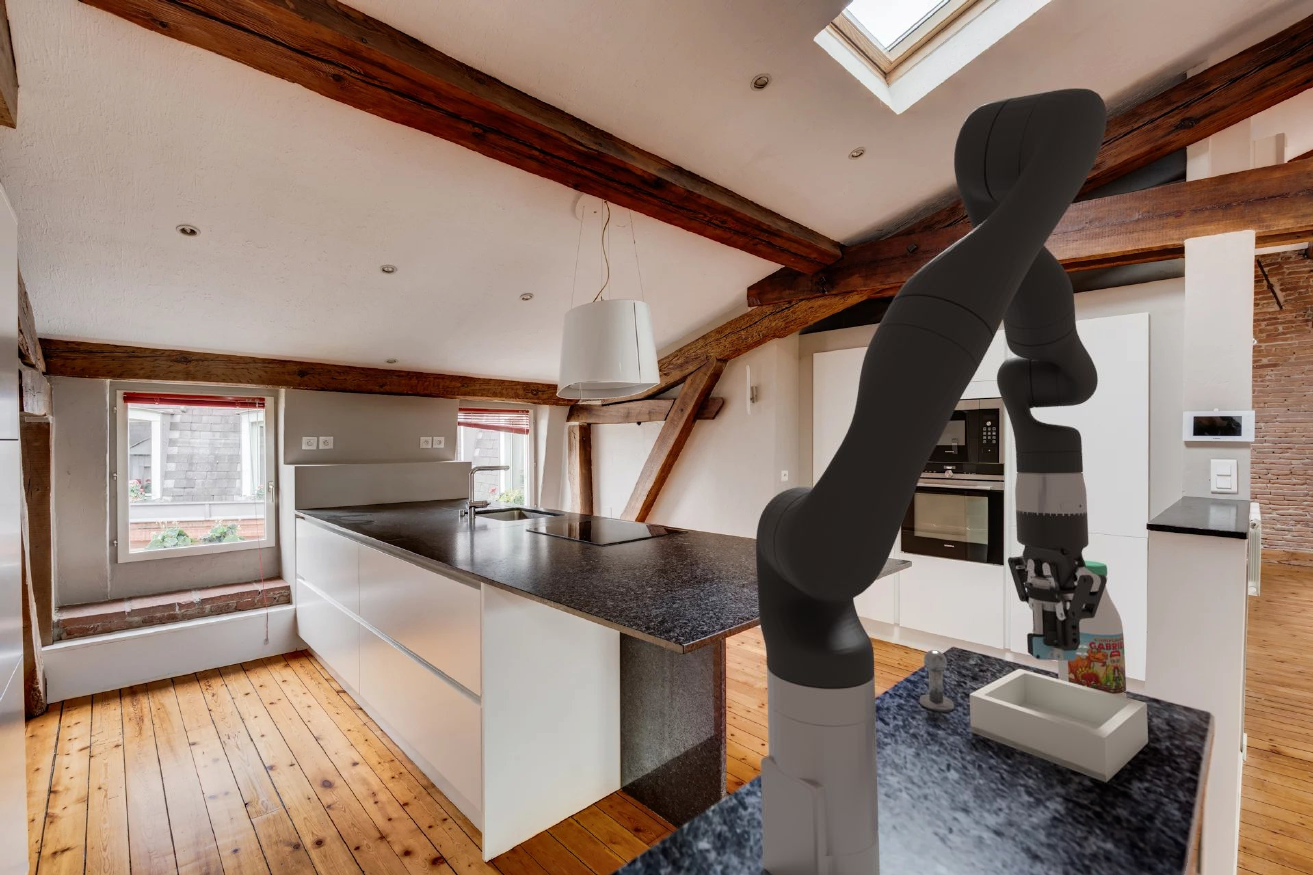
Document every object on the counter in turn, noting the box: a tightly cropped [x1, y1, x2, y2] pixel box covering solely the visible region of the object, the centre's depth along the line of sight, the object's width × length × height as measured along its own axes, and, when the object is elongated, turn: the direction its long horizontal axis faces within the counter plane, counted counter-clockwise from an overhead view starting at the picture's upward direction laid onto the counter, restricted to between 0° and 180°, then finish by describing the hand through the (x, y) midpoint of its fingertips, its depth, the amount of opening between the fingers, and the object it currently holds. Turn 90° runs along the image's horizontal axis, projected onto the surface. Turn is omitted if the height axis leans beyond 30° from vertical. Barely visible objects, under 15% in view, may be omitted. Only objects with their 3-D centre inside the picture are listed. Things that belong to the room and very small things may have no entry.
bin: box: [969, 668, 1149, 784], centre depth 72 cm, size 14×14×5 cm
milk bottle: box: [1057, 560, 1127, 698], centre depth 82 cm, size 8×8×20 cm
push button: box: [1024, 576, 1088, 662], centre depth 72 cm, size 7×5×10 cm
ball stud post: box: [919, 649, 955, 713], centre depth 82 cm, size 4×4×8 cm
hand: (1055, 643), depth 73 cm, fingers closed on push button, 3 cm apart
